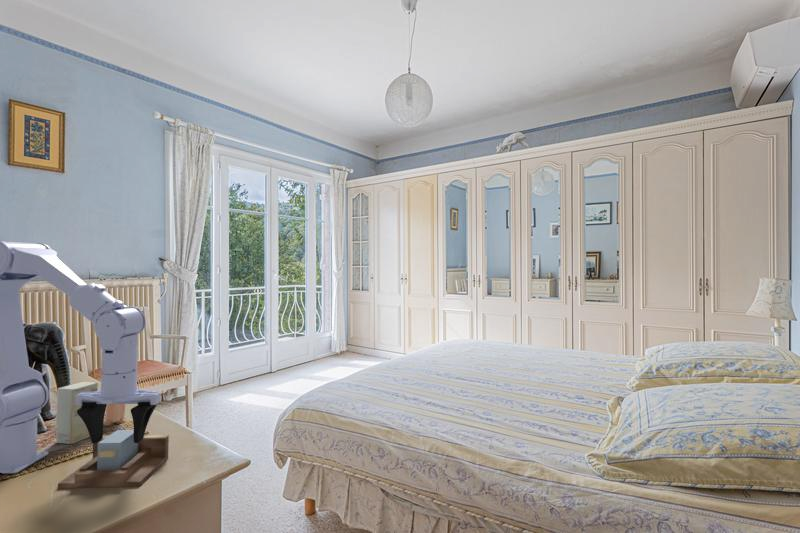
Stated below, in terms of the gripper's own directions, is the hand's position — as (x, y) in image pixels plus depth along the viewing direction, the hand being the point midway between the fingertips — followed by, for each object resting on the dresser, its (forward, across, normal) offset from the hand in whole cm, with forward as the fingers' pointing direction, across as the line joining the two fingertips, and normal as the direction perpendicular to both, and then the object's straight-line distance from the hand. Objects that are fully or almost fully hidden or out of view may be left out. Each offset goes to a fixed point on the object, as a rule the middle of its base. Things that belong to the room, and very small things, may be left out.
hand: (117, 441), depth 78 cm
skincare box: (+6, -18, +16) cm, 25 cm away
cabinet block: (+5, 0, 0) cm, 5 cm away
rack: (+6, 0, 0) cm, 6 cm away
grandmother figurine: (+6, -15, +25) cm, 30 cm away
